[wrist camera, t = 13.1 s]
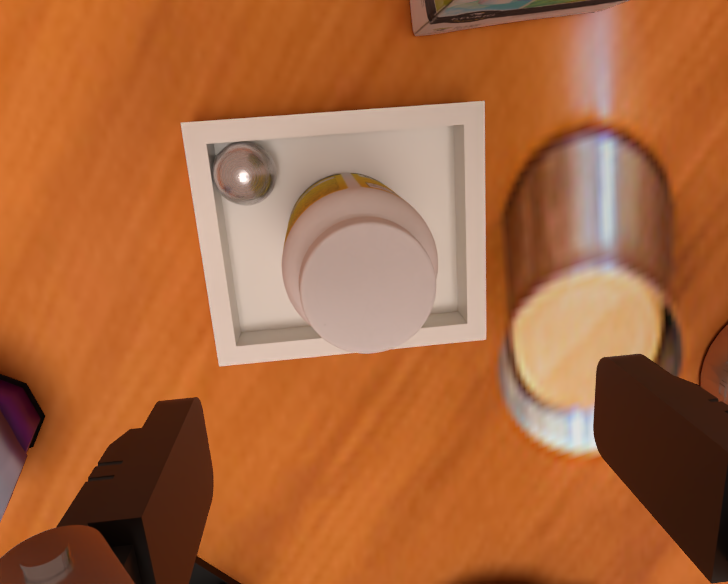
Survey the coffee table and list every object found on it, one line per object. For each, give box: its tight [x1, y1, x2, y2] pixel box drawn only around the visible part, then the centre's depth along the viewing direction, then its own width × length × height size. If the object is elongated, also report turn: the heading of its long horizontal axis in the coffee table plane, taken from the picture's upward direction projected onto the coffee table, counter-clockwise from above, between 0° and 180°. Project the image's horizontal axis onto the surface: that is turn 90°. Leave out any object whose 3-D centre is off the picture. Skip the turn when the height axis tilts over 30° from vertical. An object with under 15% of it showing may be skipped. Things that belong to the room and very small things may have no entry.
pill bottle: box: [282, 173, 438, 354], centre depth 24 cm, size 6×6×11 cm
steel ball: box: [212, 141, 277, 206], centre depth 27 cm, size 3×3×3 cm
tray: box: [181, 101, 486, 366], centre depth 29 cm, size 14×12×3 cm
